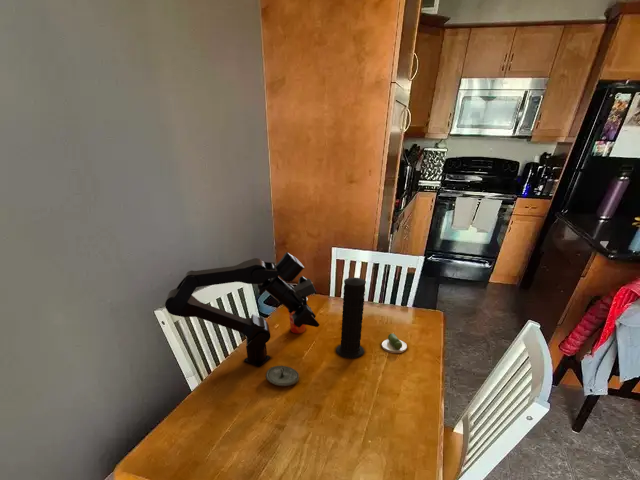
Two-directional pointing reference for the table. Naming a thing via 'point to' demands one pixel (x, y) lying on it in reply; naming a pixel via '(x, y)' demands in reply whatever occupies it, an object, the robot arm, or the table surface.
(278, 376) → the lid
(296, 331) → the paper cup
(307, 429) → the table surface
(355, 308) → the handle grip
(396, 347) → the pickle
